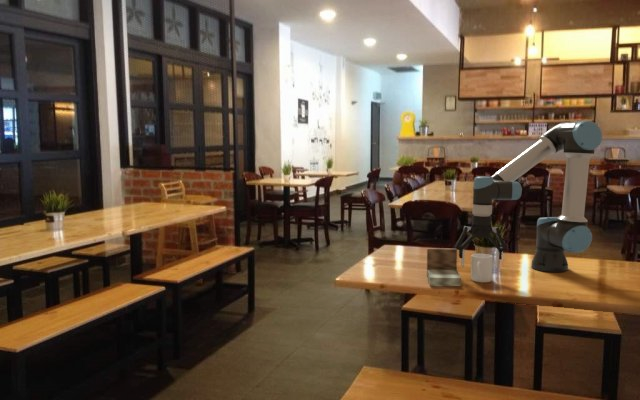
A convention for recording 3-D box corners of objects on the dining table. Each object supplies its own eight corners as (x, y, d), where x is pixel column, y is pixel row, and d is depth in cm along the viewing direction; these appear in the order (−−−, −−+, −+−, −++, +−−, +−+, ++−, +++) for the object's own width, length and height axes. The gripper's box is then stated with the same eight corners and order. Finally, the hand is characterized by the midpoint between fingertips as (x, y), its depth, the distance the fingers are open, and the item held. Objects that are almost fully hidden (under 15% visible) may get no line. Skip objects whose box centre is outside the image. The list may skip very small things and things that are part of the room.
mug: (487, 285, 224) (488, 260, 223) (466, 283, 227) (467, 258, 226) (493, 279, 234) (494, 254, 233) (473, 276, 238) (473, 252, 237)
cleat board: (455, 276, 239) (456, 248, 237) (460, 286, 223) (461, 256, 221) (426, 275, 240) (427, 248, 239) (429, 286, 224) (430, 256, 223)
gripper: (511, 214, 230) (509, 265, 232) (449, 212, 233) (447, 263, 235) (516, 217, 223) (513, 269, 225) (451, 215, 225) (449, 267, 228)
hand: (479, 266), depth 230 cm, fingers open, 13 cm apart
